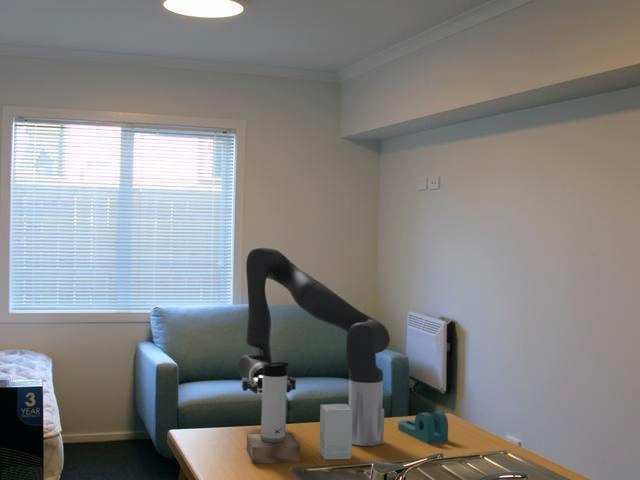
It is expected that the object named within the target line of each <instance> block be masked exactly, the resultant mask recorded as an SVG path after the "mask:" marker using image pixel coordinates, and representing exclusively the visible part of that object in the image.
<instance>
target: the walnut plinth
mask: <svg viewBox="0 0 640 480" xmlns="http://www.w3.org/2000/svg"><path fill="white" fill-rule="evenodd" d="M246 452H247V454H248V456H249V458H250V461H251V464H268V463H269V464H273V463H274V464H275V463H276V464H277V463H293V462H294V463H296V462H301V444H300V443H299V441H298V440H297V439H296V437H295V435H294V434H293V433H292V432H285V440H284V441H282V442H277V443H270V442H265V441H262V440H261V433H252V434H251V433H250V434H249V433H248V434H246Z"/></svg>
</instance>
